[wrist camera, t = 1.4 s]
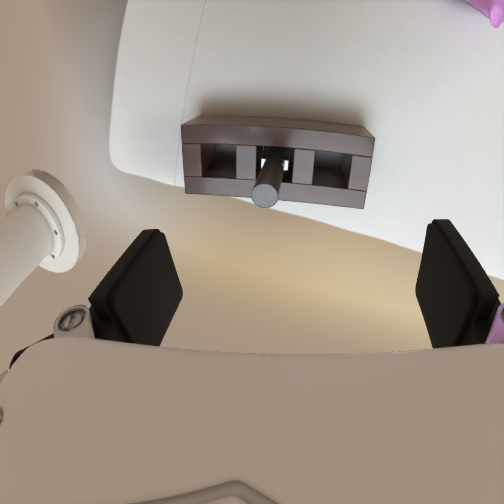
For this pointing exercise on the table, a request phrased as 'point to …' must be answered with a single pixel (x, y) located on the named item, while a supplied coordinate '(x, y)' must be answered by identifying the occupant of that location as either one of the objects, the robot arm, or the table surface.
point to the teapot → (491, 10)
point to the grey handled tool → (270, 176)
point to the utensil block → (277, 135)
